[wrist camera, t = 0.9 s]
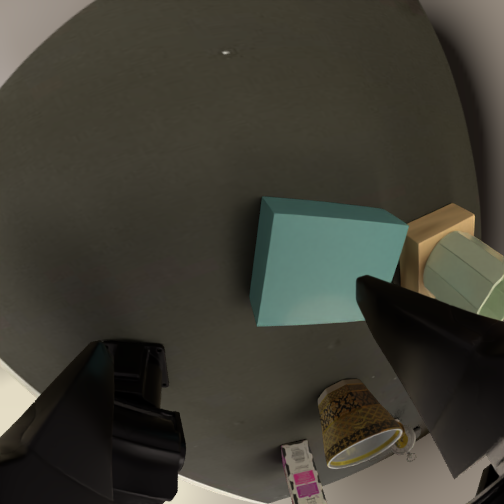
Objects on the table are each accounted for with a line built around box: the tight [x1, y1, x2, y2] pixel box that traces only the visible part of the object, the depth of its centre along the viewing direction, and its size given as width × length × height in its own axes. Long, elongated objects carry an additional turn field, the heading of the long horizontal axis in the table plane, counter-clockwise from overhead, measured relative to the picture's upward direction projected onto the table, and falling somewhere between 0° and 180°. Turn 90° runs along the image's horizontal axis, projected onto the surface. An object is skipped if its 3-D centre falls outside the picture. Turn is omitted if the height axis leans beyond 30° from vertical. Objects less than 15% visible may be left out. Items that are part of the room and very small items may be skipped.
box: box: [249, 196, 409, 326], centre depth 23 cm, size 9×11×4 cm
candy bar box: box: [281, 440, 327, 504], centre depth 36 cm, size 11×5×16 cm, turn 7°
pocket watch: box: [390, 419, 416, 462], centre depth 41 cm, size 8×8×10 cm
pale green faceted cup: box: [423, 231, 504, 321], centre depth 20 cm, size 7×7×8 cm
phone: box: [368, 427, 421, 462], centre depth 53 cm, size 7×1×15 cm
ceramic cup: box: [318, 379, 405, 469], centre depth 31 cm, size 13×10×10 cm
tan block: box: [399, 203, 475, 298], centre depth 25 cm, size 8×8×4 cm
